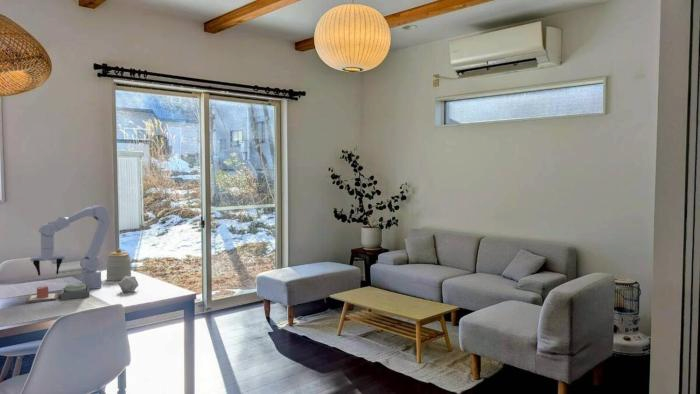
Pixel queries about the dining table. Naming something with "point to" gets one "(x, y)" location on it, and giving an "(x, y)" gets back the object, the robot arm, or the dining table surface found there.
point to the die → (128, 284)
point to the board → (34, 298)
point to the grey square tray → (74, 294)
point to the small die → (42, 292)
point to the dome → (75, 287)
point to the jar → (118, 265)
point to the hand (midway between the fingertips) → (48, 274)
